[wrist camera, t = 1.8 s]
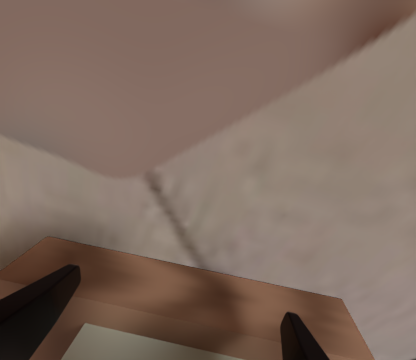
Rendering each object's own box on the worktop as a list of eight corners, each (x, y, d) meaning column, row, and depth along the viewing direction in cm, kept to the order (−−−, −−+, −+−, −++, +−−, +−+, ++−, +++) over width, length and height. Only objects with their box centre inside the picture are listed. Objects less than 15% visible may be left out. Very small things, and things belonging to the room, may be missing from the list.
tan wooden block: (341, 299, 13) (377, 364, 10) (278, 406, 18) (288, 471, 15) (47, 236, 14) (-9, 277, 11) (67, 355, 19) (34, 407, 16)
